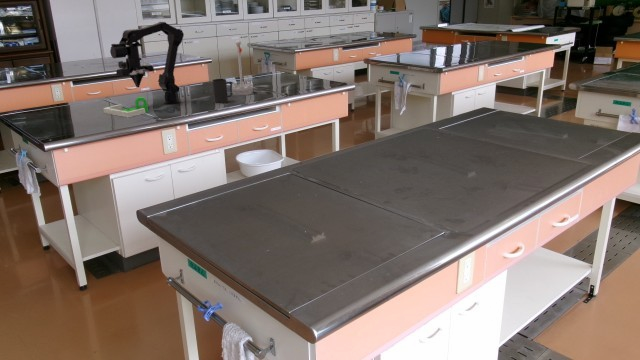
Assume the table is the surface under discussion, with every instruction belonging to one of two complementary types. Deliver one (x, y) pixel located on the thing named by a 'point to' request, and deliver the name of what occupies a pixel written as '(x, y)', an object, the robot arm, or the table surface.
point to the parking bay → (117, 111)
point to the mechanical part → (139, 105)
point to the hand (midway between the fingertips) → (137, 87)
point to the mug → (221, 90)
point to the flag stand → (241, 88)
